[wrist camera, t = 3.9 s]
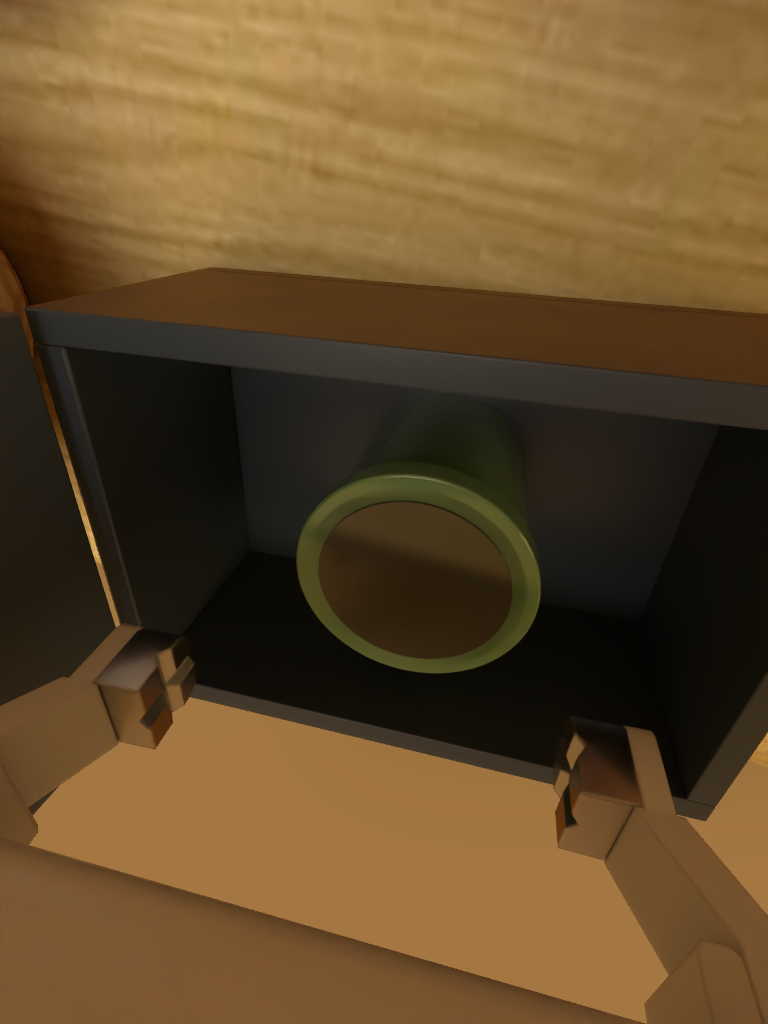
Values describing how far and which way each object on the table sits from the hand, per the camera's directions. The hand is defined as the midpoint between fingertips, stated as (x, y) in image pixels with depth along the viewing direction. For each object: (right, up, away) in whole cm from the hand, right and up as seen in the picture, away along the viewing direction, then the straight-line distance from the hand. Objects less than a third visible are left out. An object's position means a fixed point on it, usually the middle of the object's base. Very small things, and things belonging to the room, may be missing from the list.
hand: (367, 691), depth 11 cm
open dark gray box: (+3, +6, +9) cm, 11 cm away
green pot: (+3, +5, +9) cm, 11 cm away
